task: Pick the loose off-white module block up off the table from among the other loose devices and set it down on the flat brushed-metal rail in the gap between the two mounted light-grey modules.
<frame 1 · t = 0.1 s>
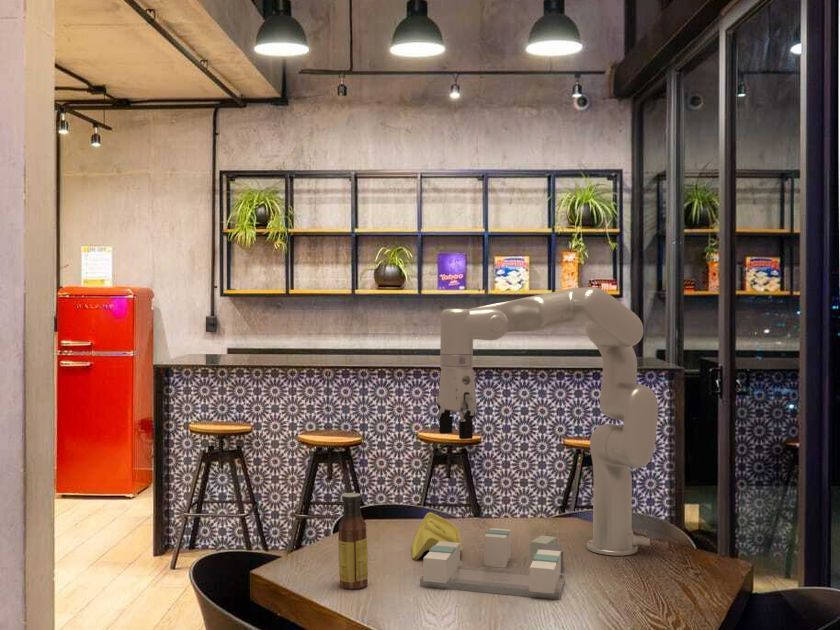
hand: (455, 435, 192), 31 cm above the table, tool pointing down, fingers open, 9 cm apart
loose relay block: (551, 569, 194), on the table
mounted module B: (442, 579, 186), resting on rail
rail: (493, 584, 183), on the table
plastic component: (438, 552, 209), on the table
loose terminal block: (543, 555, 206), on the table
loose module: (497, 562, 200), on the table
mounted module A: (545, 589, 180), resting on rail
sauce bottle: (352, 586, 181), on the table
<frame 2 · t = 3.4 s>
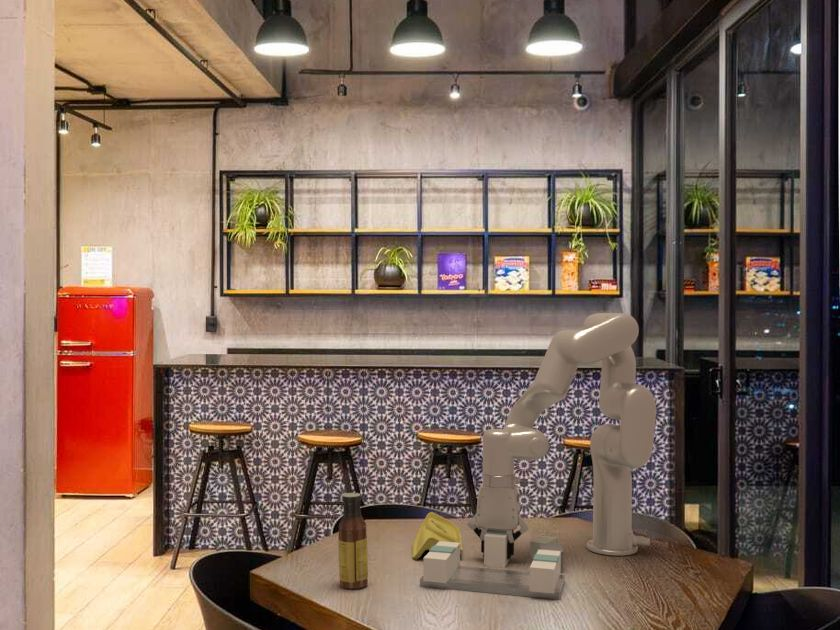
hand: (497, 556, 200), 1 cm above the table, tool pointing down, fingers closed on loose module, 5 cm apart
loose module: (497, 561, 200), on the table, touching gripper
everything else where it was.
when the fingers open (4 cm above the table, at t = 8.9 s): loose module stays where it is, resting on rail.
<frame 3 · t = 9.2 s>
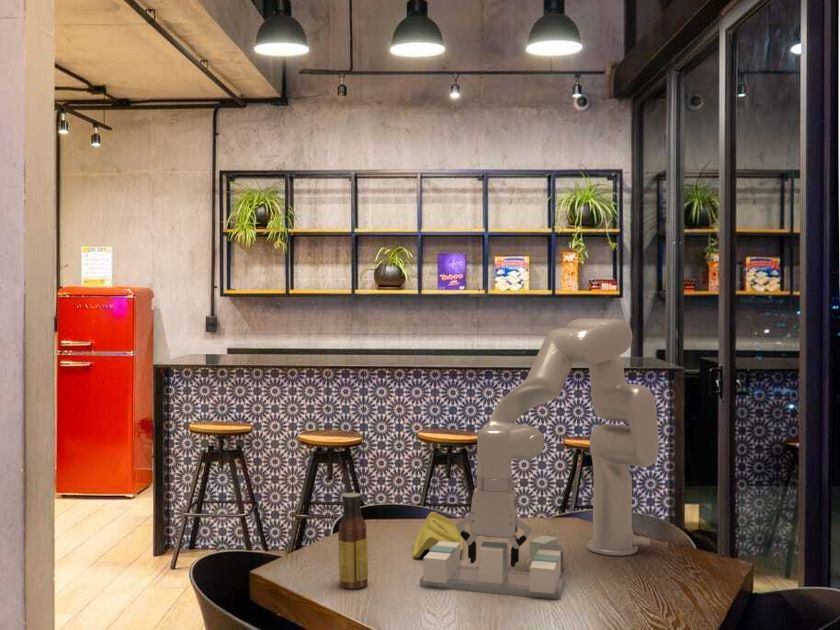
hand: (493, 563, 183), 5 cm above the table, tool pointing down, fingers open, 8 cm apart
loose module: (493, 577, 183), point 1 cm above the table, touching rail
everything else where it was.
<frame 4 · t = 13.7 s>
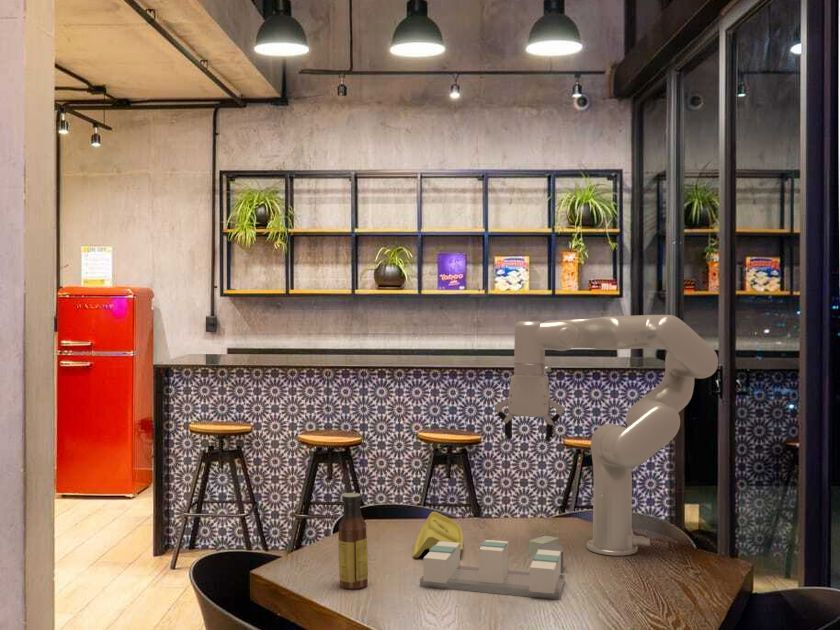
hand: (528, 439, 207), 28 cm above the table, tool pointing down, fingers open, 9 cm apart
at the end: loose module inside the target area on the rail (0.1 cm from its centre), point 1.5 cm above the rail's base; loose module tilted 0°; the gripper is holding nothing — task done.
